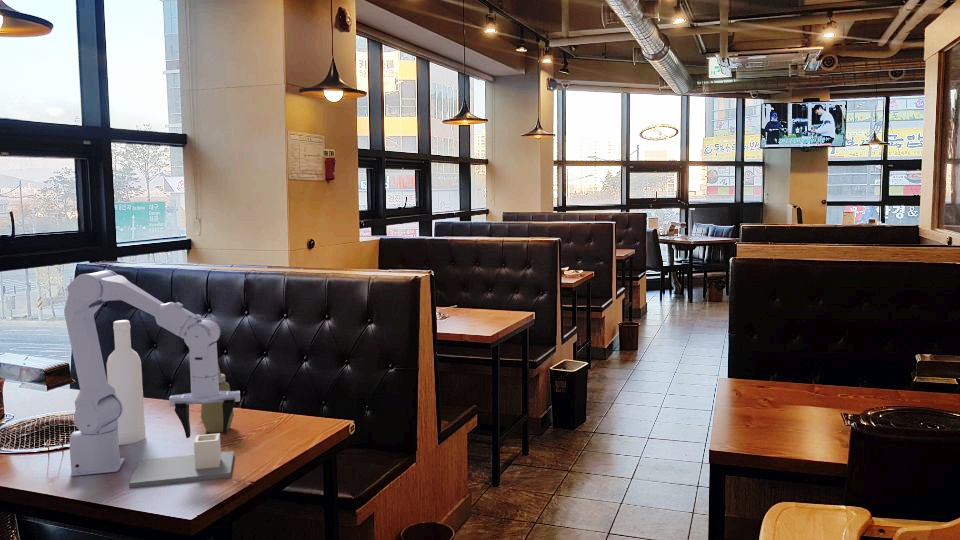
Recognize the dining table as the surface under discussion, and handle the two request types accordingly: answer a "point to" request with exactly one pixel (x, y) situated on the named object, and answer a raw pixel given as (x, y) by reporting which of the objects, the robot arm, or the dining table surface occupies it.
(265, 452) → the dining table surface
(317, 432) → the dining table surface
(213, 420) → the squeeze bottle
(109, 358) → the bottle
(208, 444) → the sleeve
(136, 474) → the base plate
